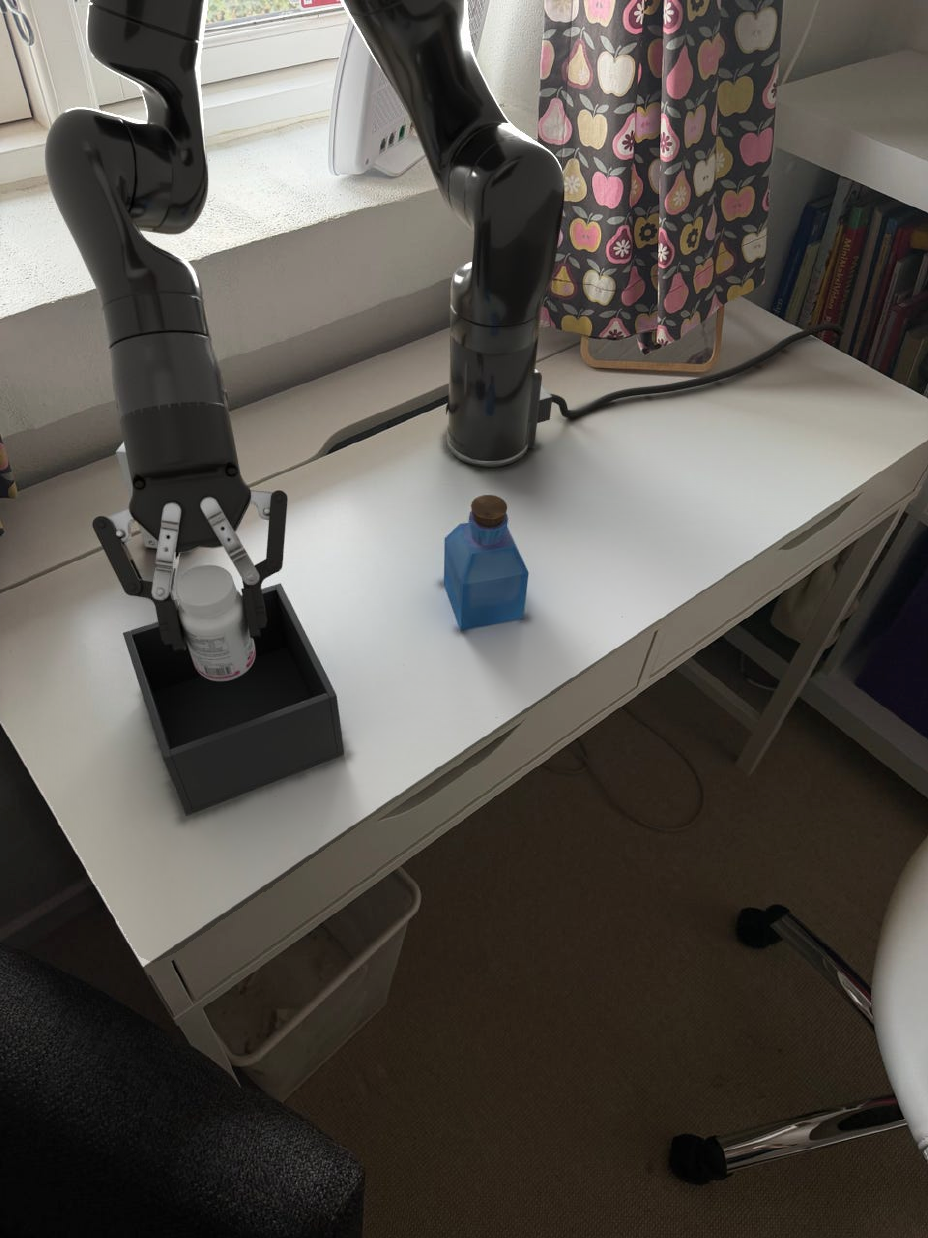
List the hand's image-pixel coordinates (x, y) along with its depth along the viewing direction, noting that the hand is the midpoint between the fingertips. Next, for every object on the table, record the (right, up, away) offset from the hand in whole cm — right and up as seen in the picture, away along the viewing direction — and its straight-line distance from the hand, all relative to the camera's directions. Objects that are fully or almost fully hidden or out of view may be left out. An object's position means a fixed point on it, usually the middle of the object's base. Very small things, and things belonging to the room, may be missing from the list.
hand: (218, 642), depth 64 cm
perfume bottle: (+20, +3, +21) cm, 29 cm away
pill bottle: (-1, -1, +4) cm, 5 cm away
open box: (-1, -7, +10) cm, 13 cm away
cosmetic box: (-12, +11, +26) cm, 31 cm away
